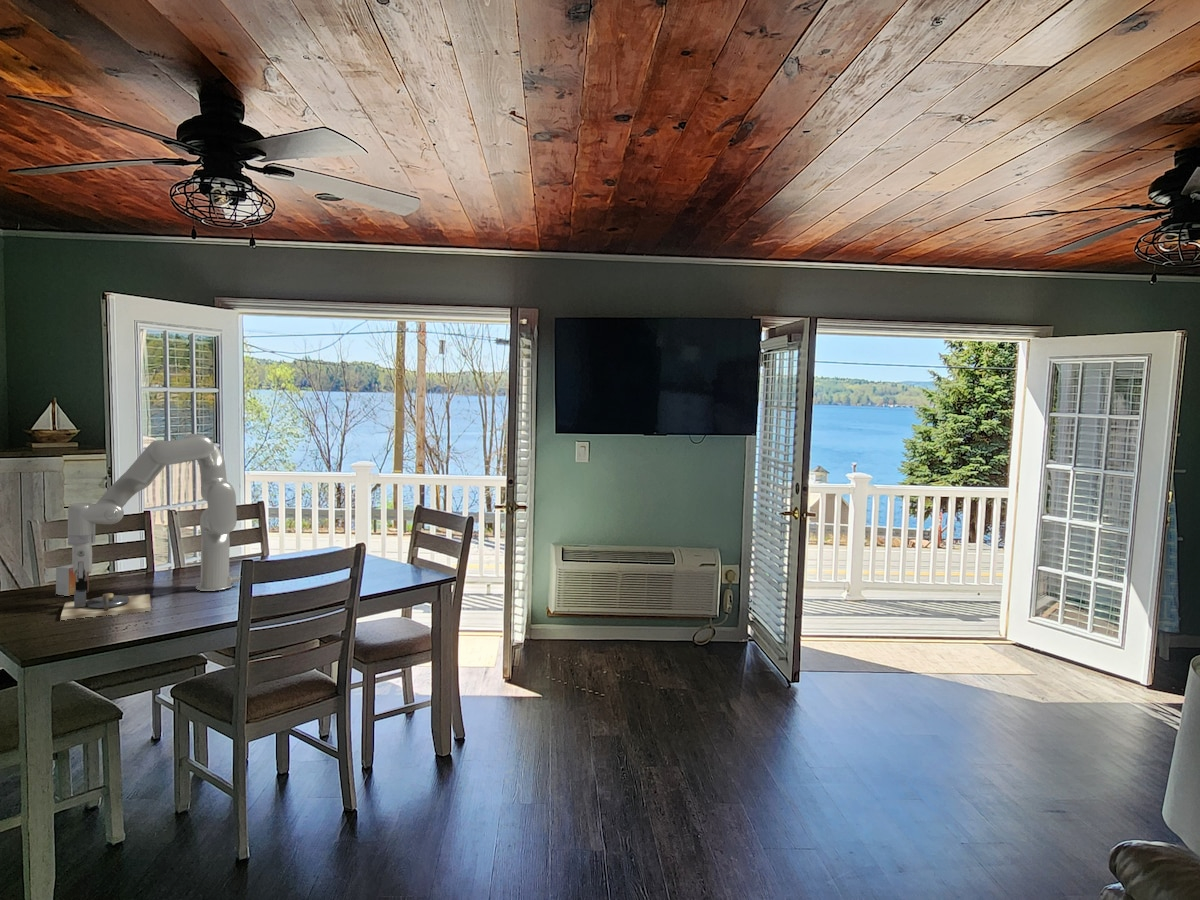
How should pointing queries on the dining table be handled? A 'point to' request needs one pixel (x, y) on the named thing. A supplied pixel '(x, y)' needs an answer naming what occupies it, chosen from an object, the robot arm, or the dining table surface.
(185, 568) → the dining table surface
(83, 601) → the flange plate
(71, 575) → the small box
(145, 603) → the post board
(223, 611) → the dining table surface
